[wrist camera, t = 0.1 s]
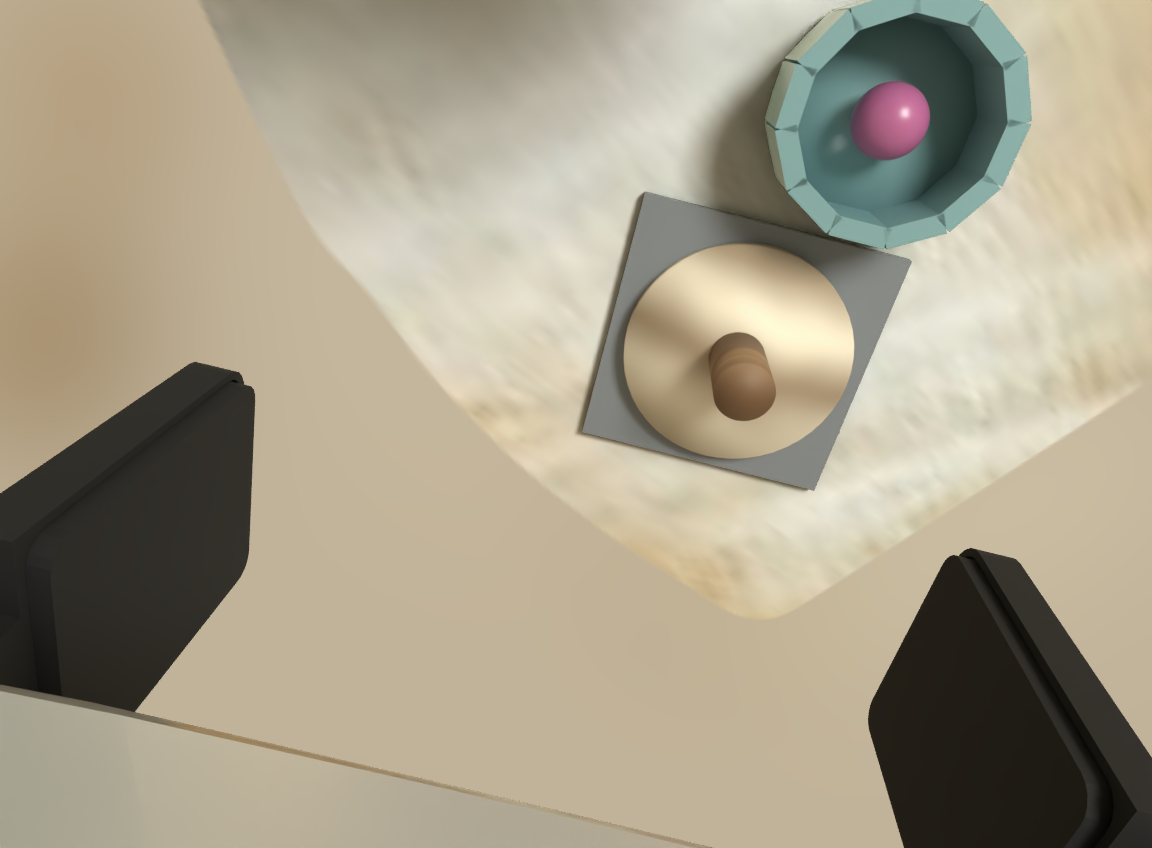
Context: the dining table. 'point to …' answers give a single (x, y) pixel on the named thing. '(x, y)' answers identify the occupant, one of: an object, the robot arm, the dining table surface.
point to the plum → (889, 120)
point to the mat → (689, 227)
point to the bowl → (954, 136)
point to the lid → (738, 350)
